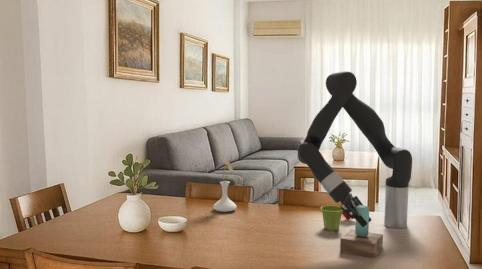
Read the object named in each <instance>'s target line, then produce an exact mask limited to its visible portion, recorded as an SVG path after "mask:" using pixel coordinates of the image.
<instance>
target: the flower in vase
mask: <svg viewBox="0 0 482 269" xmlns="http://www.w3.org/2000/svg"><path fill="white" fill-rule="evenodd" d="M222 160H223V163H224V165H225V167H224V169H223V172H222V177H223V178H222V181H219V184H220V186H221V191H222V194H221V195H222V196H221V198H220V199H219V200H218V201H216V202H215V203H214V204H213V206H212V209H213V210H214V211H216V212H223V213H225V212H227V213H228V212H233V211H235V210H236V209H237V208H238V207H237V204H235V203H234V201H233V200H231V199H230V198H229V197H228V187H229V185H230V183H231V181H228V180H225V179H227V178H229V177H228V175H225V171H226V169H227V170H229V171H230V172H231V173H233V172H234V167H232V165H231V164H232V163H231V162H229V160H228V158H226V157H224V158H223V159H222ZM224 175H225V176H224Z"/></svg>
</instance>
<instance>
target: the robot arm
mask: <svg viewBox="0 0 482 269" xmlns="http://www.w3.org/2000/svg"><path fill="white" fill-rule="evenodd" d="M357 82H358V81H357V77H356V75H355V74H354V73H353V72H351V71H348V70H347V71H338V72H334V73H331V74H329V75H328V76H327V77H326V79H325V87H326V90H327V92H328V93H329V94H330V95H331V97H330V98H329V100H328V101H327V103H326V104H325V105H324V106H323V107H322V108H321V110H320V111H319V112H318V113H317V114H316V115H315V117H314V118H313V120H312V121H311V124H310V126H309V128H308V129H307V134H306V137H305V139H304V141H303V142H302V143H301V144H300V145H299V146H298V148H297V158H298V161H299V162H300V163H302V164H304V165H306V166H307V167H308V168H309V169H310V171H311V173H312V175H313V176H314V178H315V179H316V180H317V181H318V183H320V185H321V187H322V188H323V189H324V191H325V192H326V193H327V194H328V195H329V196H330V198H331V199H332V200H333V201H334V202H335V203H336V204H337V203H339V202H340V203H341V204H342V206H341V207H340V206H339V207H340V208H341V209H342V210H343V211H344V212H345V213H346V214H347V215H348V216H349V217H350V219H351V220H353V219H354V220H355V221H356V220H357V221H358V222H359V224H360V225H361V226H362V227H364V226H366V225H367V222H366V221H365V219H364V218H363V217H362V216H360V213H359V212H358V208H357V207H356V206H360V205H362V206H364V204H363V203H362V201H361V200H360V199H359V197H358V196H357V195H355V196H353V195H352V194H350V193H351V192H352V188H351V187H350V186H349V185H348V183H347V182H346V181H345V180H344V179H343V178H342V177H341V175H339V173H337V172H336V171H335V170H334V168H333V167H332V166H331V165H330V164H329V163H328V162H327V161H326V159H325V157H324V156H323V154H322V153H321V152H320V148H321V146H322V144H323V142H324V140H325V138H326V137H327V135H328V133H329V132H330V129H331V127H332V125H333V123H334V122H335V120H336V118H337V116H338V115H339V113H340V111H341V110H342V108H343V110H345V112H346V113H347V115H348V116H349V117H350V119H351V120H352V121H353V122H354V124H355V125H356V127H357V128H358V129H359V130H360V132H361V134H363V136H365V138H366V139H367V141H368V142H369V143H370V144H371V146H372V147H373V148H374V150H375V151H376V152H377V155H378V156H379V158H380V160H381V162H382V163H383V164H384V166H385V167H387V168H388V169H392V173H391V174H392V175H391V176H388V177H386V178H385V188H384V190H385V193H384V196H385V197H384V216H383V217H384V218H383V220H384V221H383V223H384V224H383V225H384V226H385V227H388V228H391V229H392V228H393V229H406V228H407V227H408V212H409V211H408V209H409V208H408V207H409V183H410V182H411V178H412V169H413V156H412V153H411V151H410V150H408V149H406V148H401V147H396V146H395V145H394V144H393V143H392V142H391V141H390V140H389V138H388V137H387V134H386V128H385V124H384V121H383V120H382V119H381V118H380V116H379V114H378V113H377V112H376V110H374V108H372V107H370V105H368V104H367V103H366V102H364V101H362V100H361V99H359V98H358V97H357V96H356V95H355V94H354V92H355V90H356V88H357V86H358V85H357V84H358V83H357ZM371 221H372V218H371V217H370V216H369V223H370V222H371Z"/></svg>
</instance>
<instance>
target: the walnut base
mask: <svg viewBox="0 0 482 269" xmlns="http://www.w3.org/2000/svg"><path fill="white" fill-rule="evenodd" d="M383 237H384V234H383V233H375V232H369V231H368V236H358V235H356V234H355V229H349V231H347V232H346V233H345V234H343V235H342V236H341V237H340V242H339V244H340V245H339V247H340V248H339V249H340V250H339V252H340V253H345V254H350V255H355V256H362V257H367V258H371V259H372V258H373V259H374V258H375V257H376V256H377V255H378V254H379V253H380V251H381V250H382V249H383V240H384V238H383Z"/></svg>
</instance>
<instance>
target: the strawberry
mask: <svg viewBox="0 0 482 269" xmlns="http://www.w3.org/2000/svg"><path fill="white" fill-rule="evenodd" d="M341 206H342V203H341V205H340V206H339V207H341ZM342 216H343V217H344V218H345V219H346V220H347V221H348V220H350V219H351V218H350V217H349V216H348V215H347V214H346V213H345V212H344V211H343V212H342Z"/></svg>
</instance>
